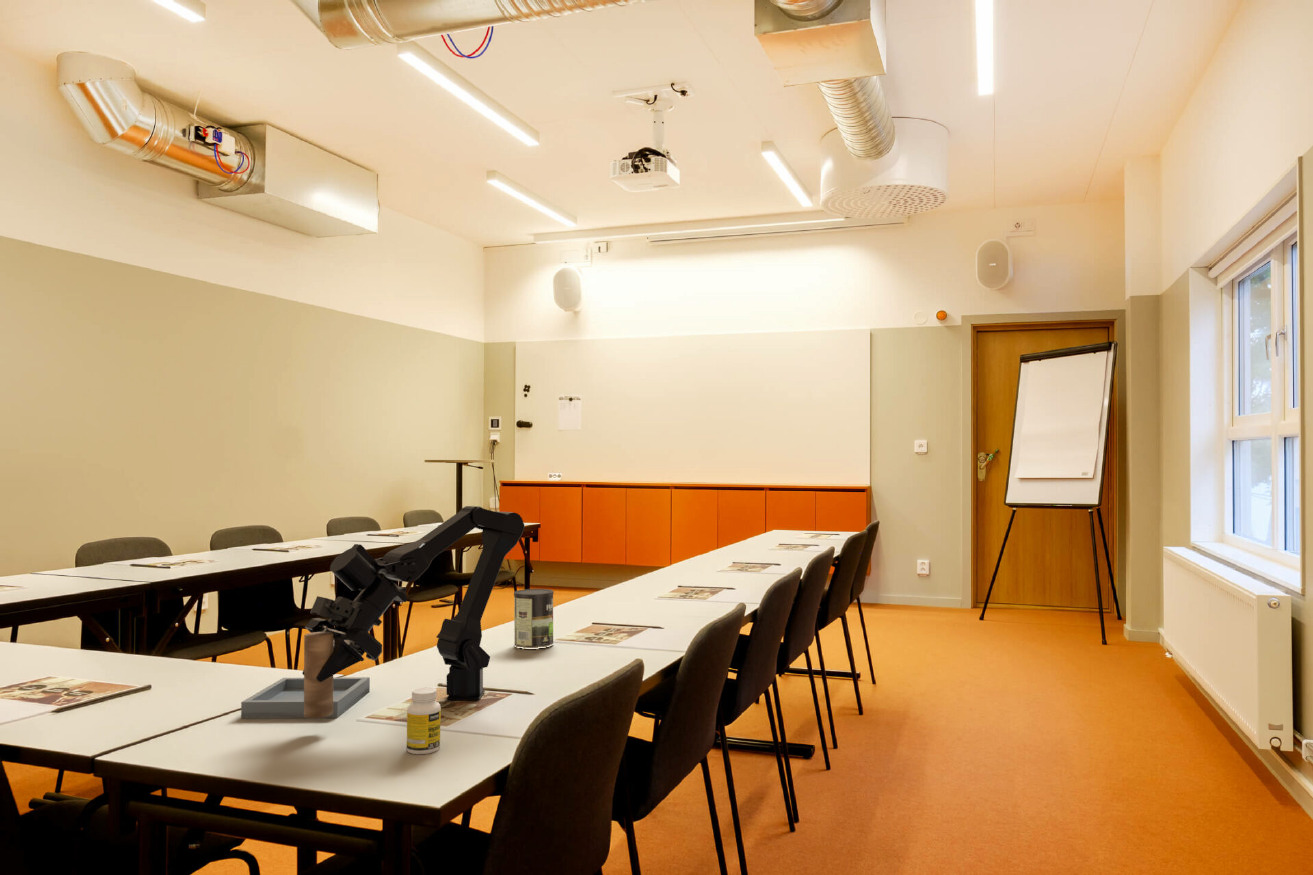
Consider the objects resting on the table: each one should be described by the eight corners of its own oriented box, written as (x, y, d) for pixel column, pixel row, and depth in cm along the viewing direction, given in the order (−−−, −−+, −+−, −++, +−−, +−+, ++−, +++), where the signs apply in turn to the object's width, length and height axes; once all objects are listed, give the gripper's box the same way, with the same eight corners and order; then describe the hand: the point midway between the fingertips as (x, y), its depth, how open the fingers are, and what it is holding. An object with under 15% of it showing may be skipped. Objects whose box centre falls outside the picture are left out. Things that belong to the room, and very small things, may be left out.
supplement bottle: (431, 756, 138) (431, 695, 138) (400, 754, 139) (400, 693, 139) (446, 745, 143) (446, 686, 143) (416, 743, 144) (416, 685, 144)
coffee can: (556, 641, 226) (556, 588, 226) (550, 649, 216) (550, 594, 216) (517, 641, 226) (517, 588, 226) (510, 650, 216) (510, 594, 216)
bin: (369, 691, 177) (369, 677, 177) (337, 717, 159) (337, 701, 159) (283, 692, 177) (283, 677, 177) (241, 718, 159) (241, 702, 159)
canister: (337, 709, 152) (337, 631, 153) (326, 718, 147) (327, 637, 148) (310, 710, 152) (310, 631, 153) (299, 718, 147) (299, 637, 148)
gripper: (315, 574, 160) (255, 643, 151) (366, 583, 147) (304, 659, 139) (354, 610, 165) (298, 679, 157) (406, 622, 153) (349, 697, 144)
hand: (311, 677), depth 149 cm, fingers closed on canister, 5 cm apart
